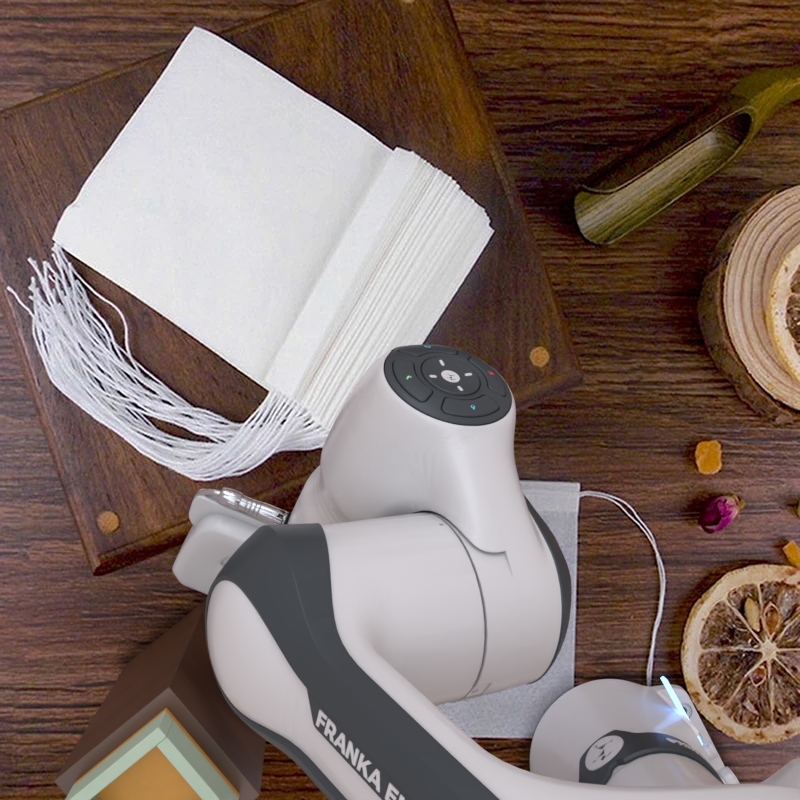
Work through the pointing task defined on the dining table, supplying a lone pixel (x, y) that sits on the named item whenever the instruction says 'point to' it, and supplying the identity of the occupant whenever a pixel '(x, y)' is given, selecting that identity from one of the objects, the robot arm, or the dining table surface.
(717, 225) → the dining table surface
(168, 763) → the socket base
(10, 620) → the dining table surface
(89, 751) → the stand
